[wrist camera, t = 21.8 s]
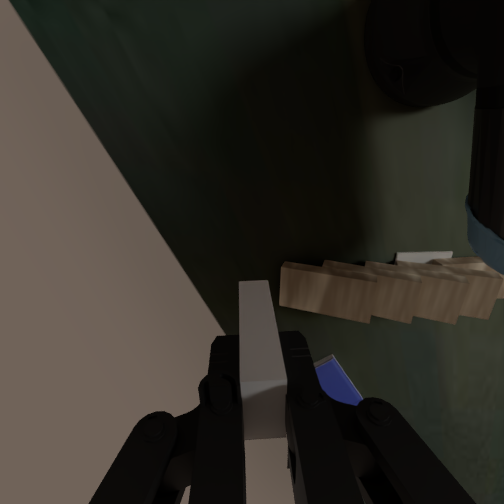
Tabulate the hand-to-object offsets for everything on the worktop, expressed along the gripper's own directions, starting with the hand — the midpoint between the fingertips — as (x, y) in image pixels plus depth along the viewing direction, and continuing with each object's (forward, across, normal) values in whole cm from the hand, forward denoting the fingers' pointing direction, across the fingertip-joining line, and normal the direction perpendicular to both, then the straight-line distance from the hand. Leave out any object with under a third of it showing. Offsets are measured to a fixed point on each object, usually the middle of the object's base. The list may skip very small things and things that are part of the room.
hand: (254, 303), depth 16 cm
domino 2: (+23, -10, +12) cm, 28 cm away
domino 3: (+23, -16, +12) cm, 30 cm away
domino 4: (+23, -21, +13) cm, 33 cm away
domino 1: (+23, -5, +12) cm, 26 cm away
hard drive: (+25, -13, +34) cm, 44 cm away
